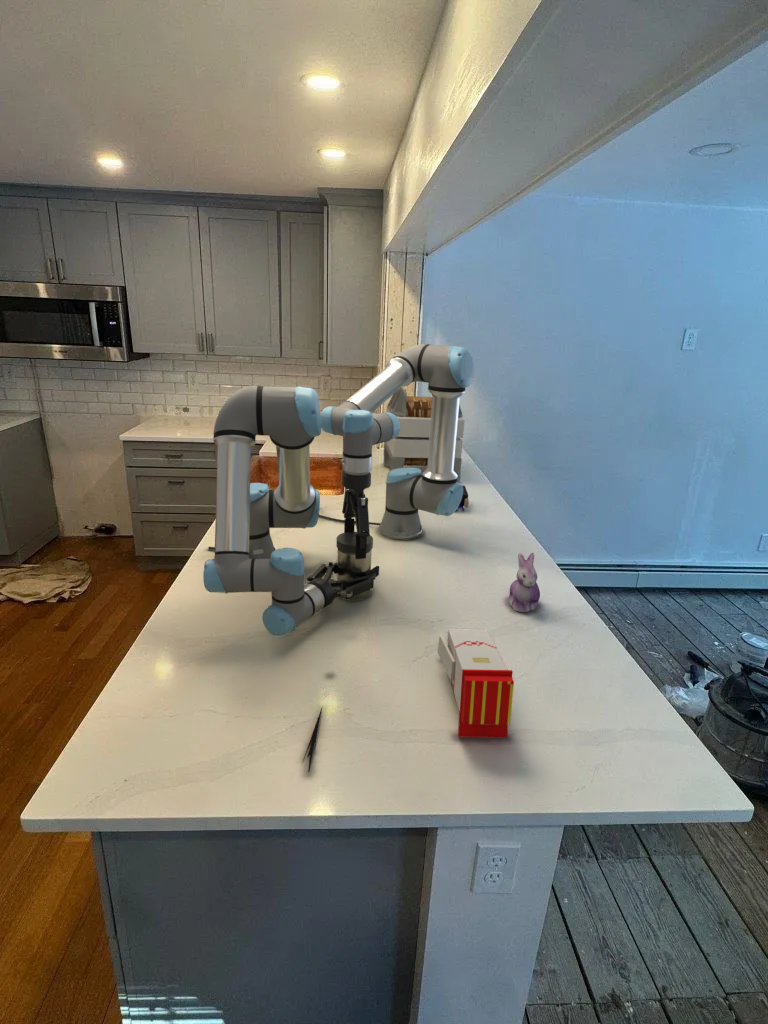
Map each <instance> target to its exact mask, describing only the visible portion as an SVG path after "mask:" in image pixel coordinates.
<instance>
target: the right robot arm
mask: <svg viewBox="0 0 768 1024" xmlns="http://www.w3.org/2000/svg"><path fill="white" fill-rule="evenodd" d="M474 377H475V361H474V357H473V355H472V352H470V350H469V349H468V348H466V347H462V346H456V345H444V344H443V345H442V344H430V343H419V344H416V345H413V346H410V347H408V348H406V349H404V350H402V351H400V352H398V353H397V354H396V355H394V356H393V357H392V358H390V359H389V360H388V361H387V363H386V366H385V368H383V369H381V371H380V372H379V373H377V374H376V375H375V376H374V377H372V379H370V380H369V381H368V382H366V383H365V384H364V385H363V386H362V387H361V388H359V389H358V390H357V391H356V392H355V393H353V394H352V395H351V396H349V398H347V399H346V400H345V401H343V402H342V403H341V404H339V406H336V405H332V406H325V407H324V408H323V409H322V411H321V412H320V415H321V430H322V431H323V432H325V433H328V434H331V435H334V436H340V437H342V459H340V463H341V464H342V468H341V469H342V472H341V485H342V487H343V488H344V495H343V502H342V503H343V504H342V510H341V513H342V514H343V518H344V519H340V518H335V517H330V516H325V515H322V514H319V517H318V518H322V519H326V520H329V521H334V522H339V523H340V522H341V523H344V524H343V525H344V526H343V533H345V532H355V529H356V532H357V534H356V535H355V537H356V550H355V559H365V558H366V544H367V537H369V536H370V535H371V531H370V525H371V526H378V533H379V534H380V535H381V536H382V537H385V538H387V539H389V540H395V541H410V540H415V539H418V538H420V537H421V536H422V535H423V525H422V524H421V518H420V515H419V510H420V511H423V512H426V513H431V514H433V515H436V516H443V517H450V516H452V515H453V514H454V513H456V512H457V511H456V509H457V510H458V509H459V508H458V506H459V504H460V502H461V499H462V495H463V486H464V485H463V484H462V483H461V482H459V483H457V477H458V475H457V474H456V473H455V472H454V458H455V447H456V435H457V424H458V412H459V405H460V398H461V397H462V395H464V394H465V393H466V388H469V387H470V386H471V384H472V383H473V379H474ZM416 382H417V383H419V382H421V383H426V384H427V383H428V384H427V391H428V392H429V393H430V394H431V397H432V409H431V423H430V437H429V452H428V466H426V469H425V470H424V471H422V470H421V468H419V467H404V468H398V469H394V470H391V471H390V470H388V472H387V475H386V480H385V504H384V505H385V507H384V508H385V509H384V513H383V515H382V519H381V522H370V517H369V516H370V515H369V498H368V497H366V494H365V490H366V489H369V488H370V487H371V486H372V470H373V446H375V445H379V444H384V442H387V441H390V440H392V439H394V438H395V437H397V435H398V434H399V432H400V422H399V420H398V418H397V417H396V416H395V415H394V414H392V413H386V412H380V413H375V411H376V410H378V409H379V408H380V407H381V406H382V405H383V404H385V402H386V401H387V400H389V399H391V398H392V396H393V394H394V393H395V392H396V391H398V390H399V389H400V388H401V387H402V388H405V387H408V386H409V385H411V384H412V383H416ZM462 485H463V486H462Z"/></svg>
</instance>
